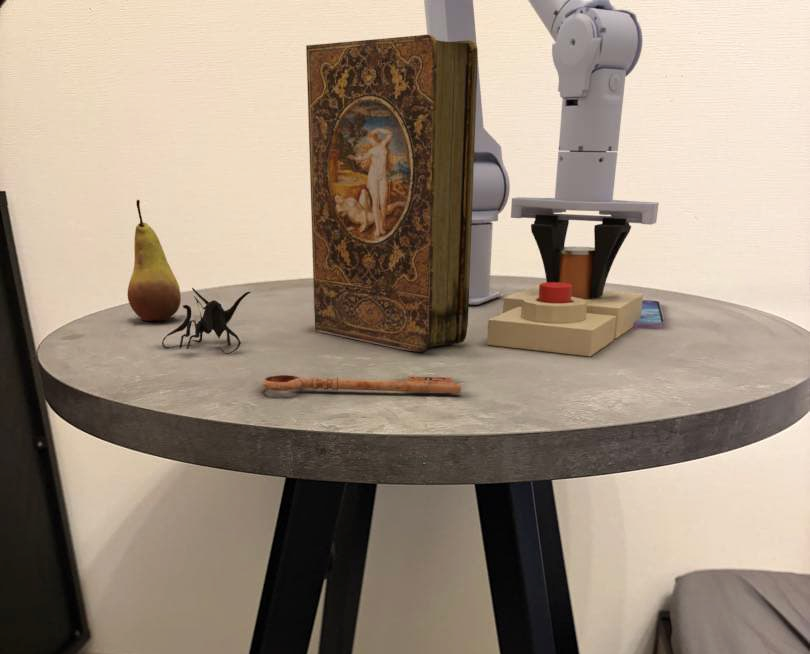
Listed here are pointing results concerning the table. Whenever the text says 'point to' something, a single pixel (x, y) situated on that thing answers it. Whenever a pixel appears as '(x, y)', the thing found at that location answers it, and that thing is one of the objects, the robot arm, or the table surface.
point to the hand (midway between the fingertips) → (574, 294)
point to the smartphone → (650, 316)
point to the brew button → (555, 292)
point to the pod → (577, 269)
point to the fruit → (152, 278)
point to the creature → (209, 321)
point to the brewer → (596, 306)
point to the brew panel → (552, 327)
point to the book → (392, 188)
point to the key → (364, 384)
